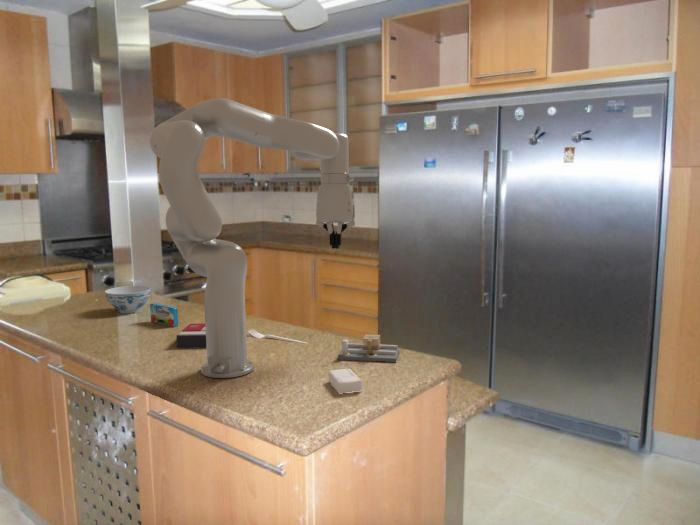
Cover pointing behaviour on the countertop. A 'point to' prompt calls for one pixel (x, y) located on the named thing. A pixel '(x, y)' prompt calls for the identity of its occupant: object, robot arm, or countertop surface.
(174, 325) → the blue thin box
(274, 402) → the countertop surface
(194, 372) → the countertop surface
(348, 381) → the soap
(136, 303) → the chinaware
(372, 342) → the tan slider block
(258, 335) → the fork
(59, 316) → the countertop surface
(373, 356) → the switch panel
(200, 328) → the calculator
